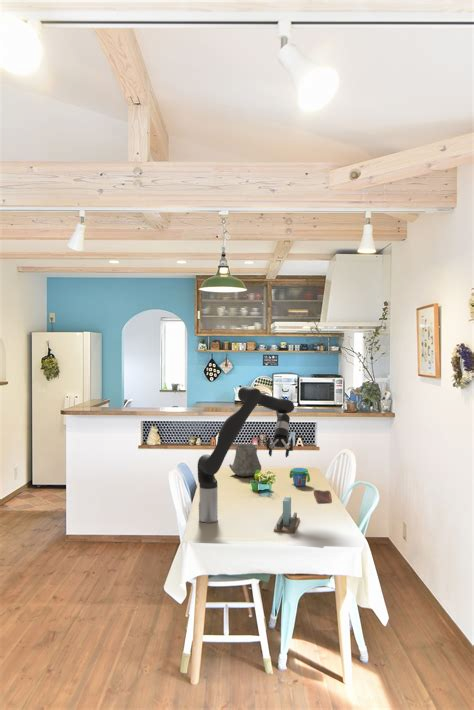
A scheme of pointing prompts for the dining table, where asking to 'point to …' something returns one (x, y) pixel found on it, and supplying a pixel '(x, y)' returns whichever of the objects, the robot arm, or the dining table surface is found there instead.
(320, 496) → the wooden tablet
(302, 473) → the snack cup
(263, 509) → the dining table surface
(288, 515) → the door panel
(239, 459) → the vessel
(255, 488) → the green potted plant
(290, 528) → the track board
